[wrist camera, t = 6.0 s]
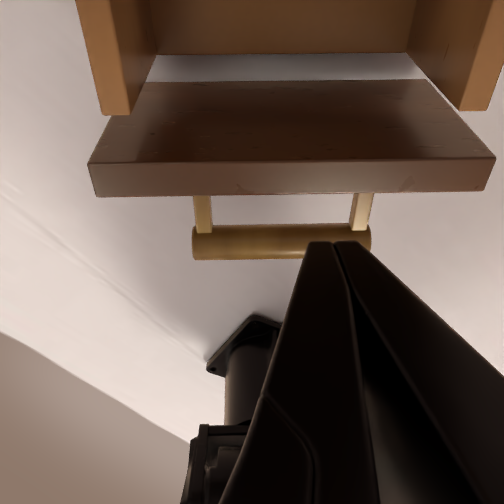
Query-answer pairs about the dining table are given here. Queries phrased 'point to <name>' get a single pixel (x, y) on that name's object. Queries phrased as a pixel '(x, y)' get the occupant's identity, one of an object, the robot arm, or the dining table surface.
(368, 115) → the drawer
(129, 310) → the dining table surface
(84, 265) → the dining table surface
